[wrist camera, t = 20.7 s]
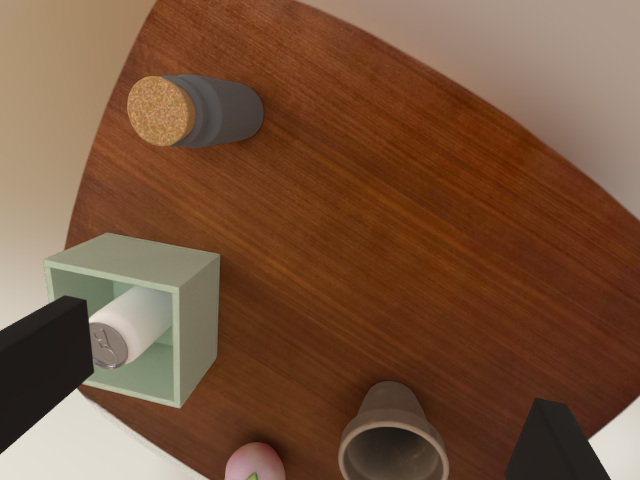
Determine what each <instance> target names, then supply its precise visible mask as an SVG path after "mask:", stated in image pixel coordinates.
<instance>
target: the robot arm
mask: <svg viewBox="0 0 640 480" xmlns="http://www.w3.org/2000/svg"><path fill="white" fill-rule="evenodd" d="M93 373H94V365H93V355H92V346H91V336H90V327H89V318H88V308H87V300H85V299H80V298H76V297H71V296H67V295H64V296H62V297H60V298H58V299H57V300H55V301H53V302H51V303H49V304H48V305H46V306H44V307H42V308H41V309H39V310H37V311H35V312H33V313H31V314H30V315H28V316H26V317H24V318H22V319H21V320H19V321H17V322H15V323H13V324H12V325H10V326H8V327H6V328H4V329H3V330H1V331H0V454H1V453H2V452H4V451H5V450H6V449H7V448H8V447H9V446H10V445H12V444H13V443H14V442H15V441H16V440H17V439H18V438H20V437H21V436H22V435H23V434H24V433H25V432H26V431H28V430H29V429H30V428H31V427H32V426H33V425H35V424H36V423H37V422H38V421H39V420H40V419H41V418H43V417H44V416H45V415H46V414H47V413H48V412H50V411H51V410H52V409H53V408H54V407H55V406H56V405H58V404H59V403H60V402H61V401H62V400H63V399H64V398H65V397H67V396H68V395H69V394H70V393H71V392H73V391H74V390H75V389H76V388H77V387H78V386H79V385H81V384H82V383H83V382H84V381H85V380H86V379H87V378H89V377H90V376H91V375H92V374H93ZM505 476H506V479H507V480H611V479H610V477H609V476H608V474H607V472H606V471H605V469H604V467H603V465H602V464H601V463H600V460H599V459H598V457H597V455H596V454H595V452H594V450H593V449H592V447H591V445H590V444H589V442H588V440H587V438H586V437H585V435H584V433H583V432H582V430H581V428H580V427H579V425H578V423H577V422H576V420H575V418H574V417H573V415H572V413H571V411H570V410H569V408H568V406H567V405H566V404H562V403H557V402H553V401H548V400H543V399H539V398H535V399H534V402H533V404H532V407H531V409H530V412H529V414H528V417H527V419H526V422H525V424H524V427H523V429H522V432H521V434H520V437H519V439H518V442H517V444H516V447H515V449H514V452H513V454H512V457H511V459H510V462H509V464H508V467H507V469H506V472H505Z"/></svg>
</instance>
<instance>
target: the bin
mask: <svg viewBox="0 0 640 480" xmlns="http://www.w3.org/2000/svg"><path fill="white" fill-rule="evenodd" d="M43 263H44V271H45V277H46V285H47V292H48V299H49V303H51V302H53V301H55V300H57V299H58V298H60V297H62V296H64V295H67V296H71V297H76V298H80V299H85V300H87V308H88V318H90V317H91V316H92V315H93V314H95V313H96V312H97V311H99V310H100V309H102V308H103V307H104V306H106V305H107V304H109V303H110V302H112V301H113V300H115V299H116V298H118V297H119V296H121V295H122V294H124V293H125V292H127V291H128V290H130V289H131V288H133V287H134V286H136V285H137V286H142V287H147V288H151V289H156V290H161V291H166V292H171V293H172V308H173V324H172V325H171V326H170V327H169V328H168V329H167V330H166V331H165V332H164V333H163V334H162V335H161V336H160V337H159V338H158V339H157V340H156V341H154V342H153V343H152V344H151V345H150V346H149V347H148V348H147V349H146V350H145V351H144V352H143V353H142V354H141V355H140V356H139V357H137V358H136V359H135V360H134V361H132V362H130V363H128V364H124V365H123V366H122V367H121V368H119V369H116V370H105V369H101V368H99V367H97V366H95V365H94V373H93V374H92V375H91V376H90V377H89V378H87V379H86V380H85V381H84V382H83V383H82V384H85V385H89V386H93V387H97V388H101V389H105V390H109V391H113V392H117V393H121V394H125V395H129V396H133V397H137V398H141V399H145V400H149V401H152V402H156V403H160V404H164V405H168V406H172V407H176V408H181V407H182V405H183V404H184V402H185V401H186V400H187V398H188V397H189V396H190V394H191V393H192V391H193V390H194V389H195V387H196V386H197V384H198V383H199V382H200V380H201V379H202V377H203V376H204V375H205V373H206V372H207V371H208V369H209V368H210V366H211V365H212V364H213V362H214V361H215V360H216V358H217V340H218V309H219V278H220V254H217V253H212V252H207V251H202V250H196V249H191V248H186V247H181V246H175V245H170V244H165V243H160V242H154V241H149V240H144V239H139V238H133V237H128V236H123V235H118V234H112V233H105V234H103V235H100V236H98V237H96V238H93V239H91V240H88V241H86V242H84V243H81V244H79V245H77V246H74V247H72V248H69V249H67V250H65V251H62V252H60V253H57V254H55V255H53V256H50V257H48V258H45V259H43Z"/></svg>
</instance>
